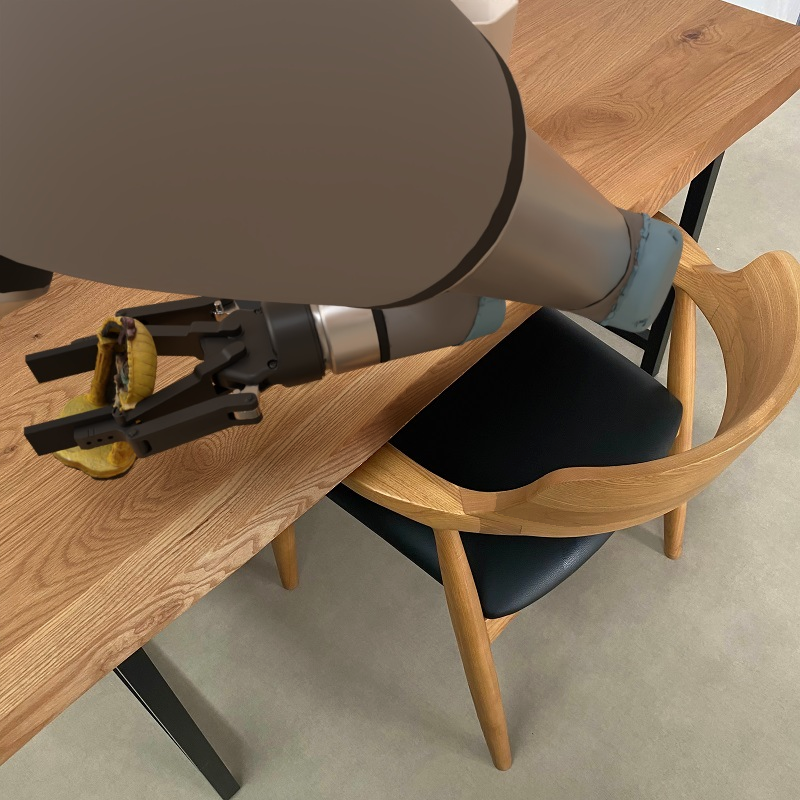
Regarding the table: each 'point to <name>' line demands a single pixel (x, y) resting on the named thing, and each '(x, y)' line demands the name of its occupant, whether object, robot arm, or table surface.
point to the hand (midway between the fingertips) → (32, 404)
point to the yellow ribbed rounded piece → (114, 394)
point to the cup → (493, 21)
